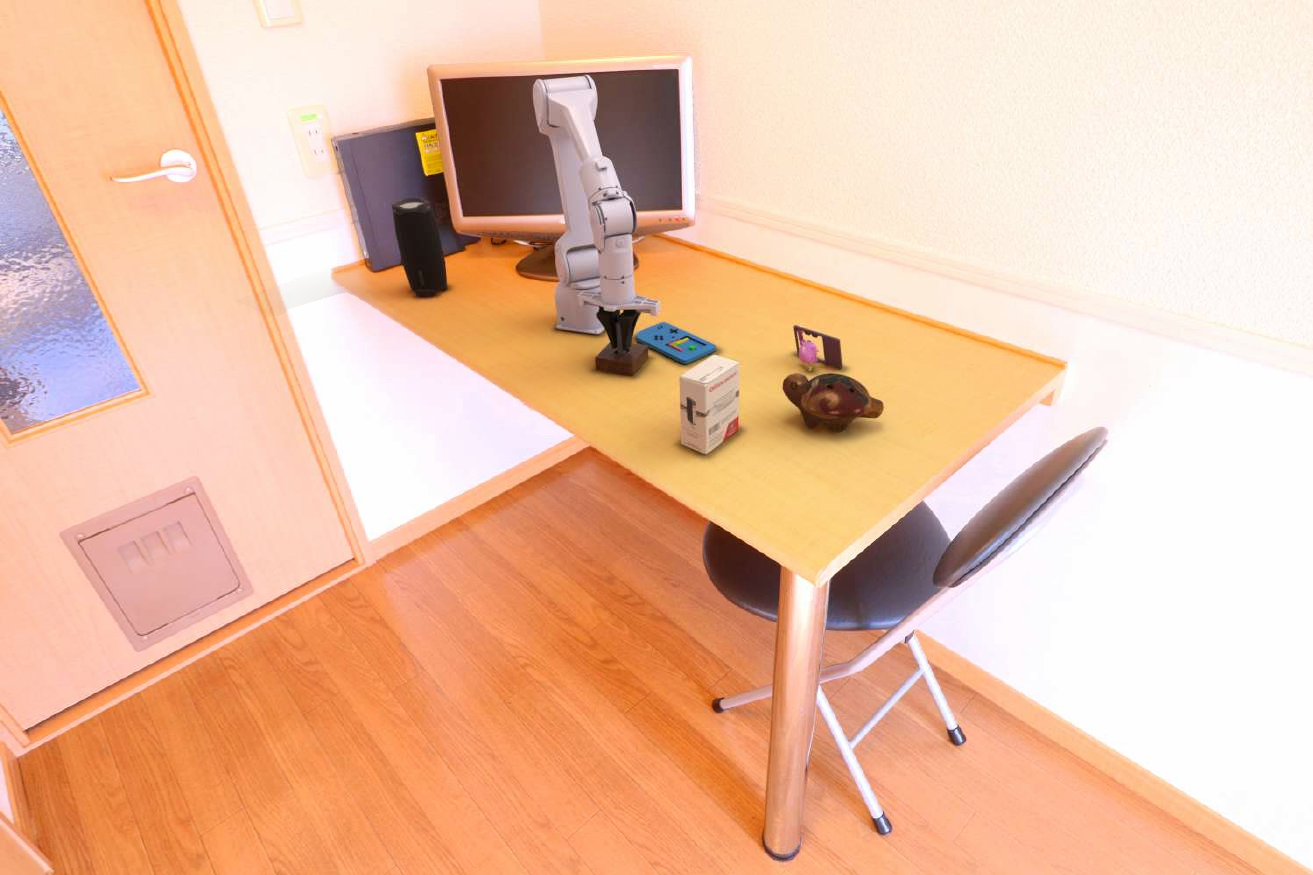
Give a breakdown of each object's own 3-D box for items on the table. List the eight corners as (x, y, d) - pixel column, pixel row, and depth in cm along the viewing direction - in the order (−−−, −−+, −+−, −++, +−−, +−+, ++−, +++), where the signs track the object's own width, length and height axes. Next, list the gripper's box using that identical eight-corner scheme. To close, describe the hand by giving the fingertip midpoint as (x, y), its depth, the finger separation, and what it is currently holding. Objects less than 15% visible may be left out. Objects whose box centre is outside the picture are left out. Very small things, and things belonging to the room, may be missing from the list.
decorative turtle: (776, 404, 115) (783, 359, 110) (871, 412, 114) (882, 367, 109) (779, 435, 106) (786, 387, 102) (882, 444, 105) (894, 396, 101)
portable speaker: (423, 281, 164) (404, 195, 153) (458, 286, 161) (441, 197, 150) (400, 295, 157) (379, 206, 146) (437, 300, 154) (417, 209, 144)
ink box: (713, 419, 112) (714, 351, 105) (739, 430, 109) (742, 361, 102) (679, 444, 106) (677, 374, 100) (705, 456, 104) (706, 385, 97)
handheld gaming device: (663, 319, 140) (718, 344, 130) (663, 325, 140) (718, 350, 131) (630, 333, 135) (684, 359, 126) (631, 338, 136) (685, 365, 126)
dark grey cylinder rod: (616, 365, 127) (613, 319, 122) (620, 361, 129) (617, 315, 124) (625, 367, 127) (622, 320, 122) (628, 362, 128) (626, 316, 123)
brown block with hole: (596, 370, 126) (595, 357, 125) (612, 352, 132) (612, 339, 130) (633, 376, 124) (632, 363, 122) (648, 358, 129) (648, 345, 128)
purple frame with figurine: (842, 336, 119) (796, 322, 124) (825, 356, 117) (779, 341, 122) (845, 365, 124) (800, 350, 129) (829, 384, 122) (784, 368, 127)
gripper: (566, 277, 117) (574, 351, 125) (647, 287, 113) (651, 363, 120) (585, 262, 123) (592, 334, 130) (664, 271, 118) (666, 345, 126)
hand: (621, 347), depth 126 cm, fingers closed on dark grey cylinder rod, 1 cm apart
